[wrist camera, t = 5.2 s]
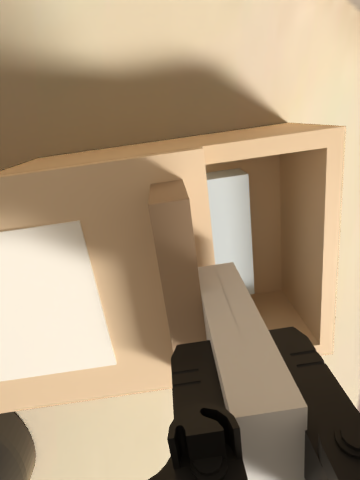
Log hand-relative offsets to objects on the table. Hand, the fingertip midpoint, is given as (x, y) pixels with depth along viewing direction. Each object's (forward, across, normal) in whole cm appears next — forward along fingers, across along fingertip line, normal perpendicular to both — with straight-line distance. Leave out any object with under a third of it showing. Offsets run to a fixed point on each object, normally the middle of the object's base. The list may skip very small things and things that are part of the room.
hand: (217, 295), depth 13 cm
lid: (+2, -7, 0) cm, 7 cm away
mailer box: (+8, -1, 0) cm, 8 cm away
